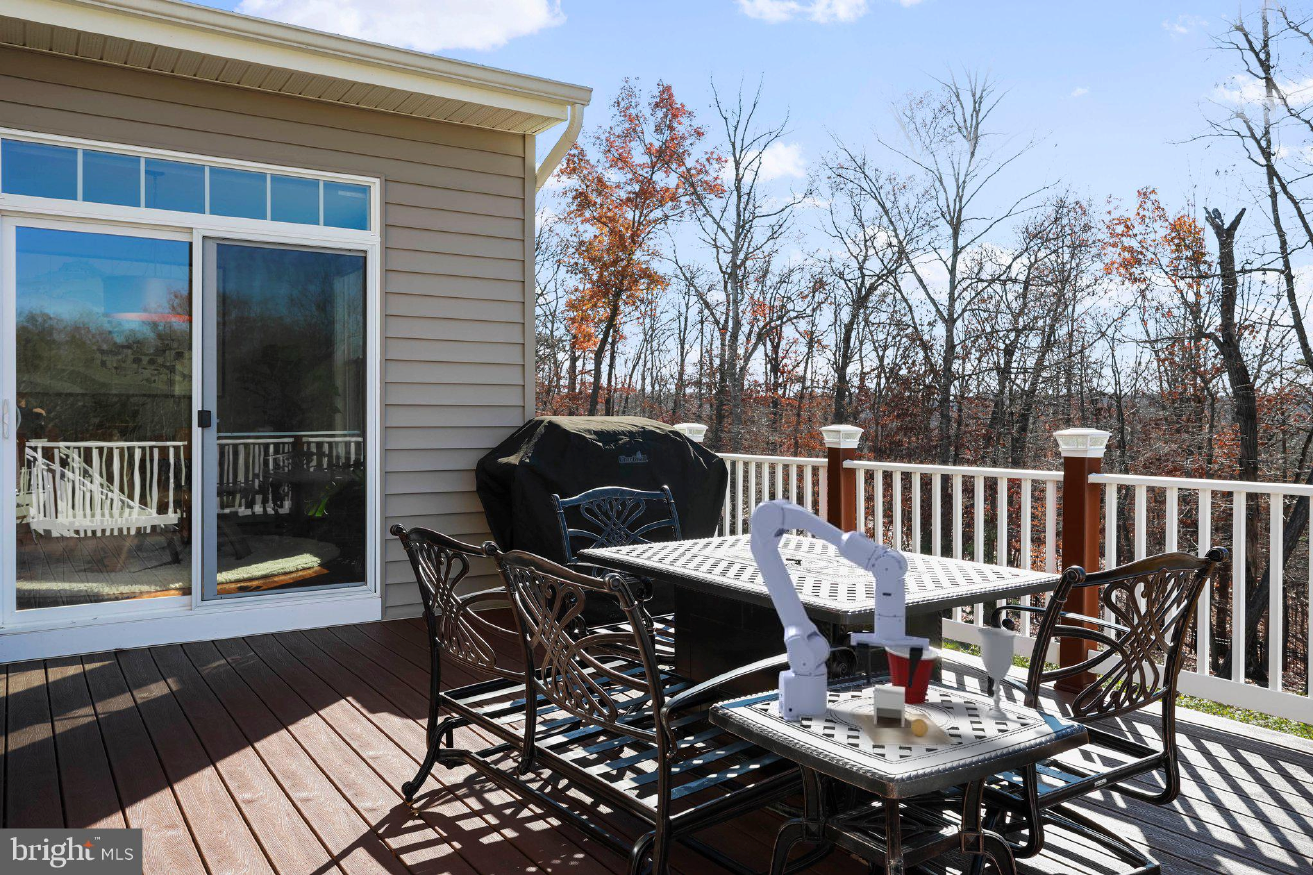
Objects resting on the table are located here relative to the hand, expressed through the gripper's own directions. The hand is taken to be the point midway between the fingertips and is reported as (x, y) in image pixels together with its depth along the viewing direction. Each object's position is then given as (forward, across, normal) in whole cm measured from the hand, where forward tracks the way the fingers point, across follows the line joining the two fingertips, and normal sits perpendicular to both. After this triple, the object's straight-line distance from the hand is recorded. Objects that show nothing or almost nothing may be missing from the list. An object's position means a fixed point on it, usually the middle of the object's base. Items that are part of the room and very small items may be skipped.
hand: (889, 684), depth 164 cm
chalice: (+8, +20, +9) cm, 24 cm away
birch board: (+8, +2, -3) cm, 9 cm away
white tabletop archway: (+7, 0, 0) cm, 7 cm away
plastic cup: (+8, +4, +16) cm, 19 cm away
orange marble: (+7, +6, -6) cm, 11 cm away
